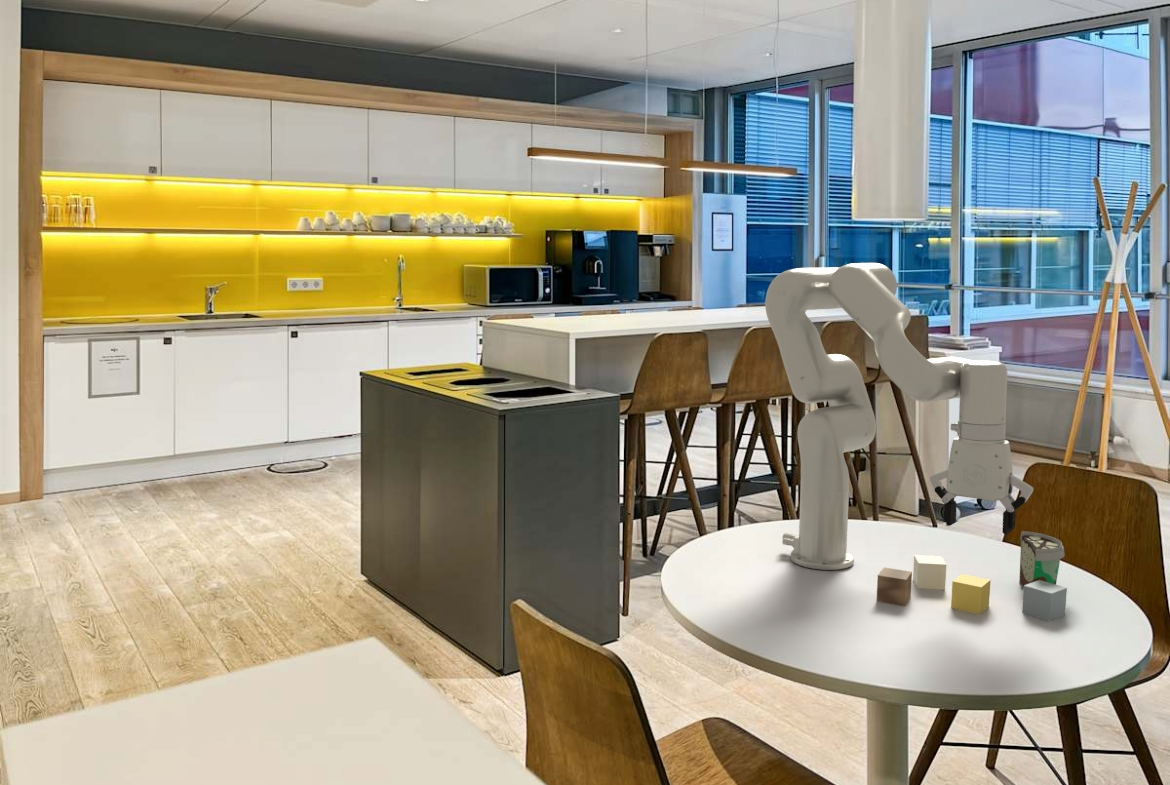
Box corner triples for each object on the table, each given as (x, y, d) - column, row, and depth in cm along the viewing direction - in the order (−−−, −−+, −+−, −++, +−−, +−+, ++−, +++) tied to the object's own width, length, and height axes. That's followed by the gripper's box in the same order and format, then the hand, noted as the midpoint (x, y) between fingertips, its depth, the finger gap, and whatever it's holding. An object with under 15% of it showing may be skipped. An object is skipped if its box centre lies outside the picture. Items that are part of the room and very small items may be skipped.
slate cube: (1022, 612, 173) (1023, 585, 172) (1037, 606, 176) (1039, 579, 175) (1049, 621, 169) (1051, 593, 168) (1064, 615, 172) (1066, 587, 171)
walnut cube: (876, 601, 178) (877, 575, 177) (882, 593, 182) (884, 567, 182) (904, 606, 176) (906, 579, 175) (910, 598, 180) (912, 571, 179)
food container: (1069, 605, 176) (1073, 551, 174) (1032, 603, 177) (1036, 549, 176) (1051, 583, 188) (1055, 532, 186) (1017, 580, 189) (1020, 530, 188)
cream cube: (917, 588, 185) (918, 563, 184) (912, 579, 190) (914, 554, 189) (945, 590, 184) (946, 564, 183) (939, 581, 189) (941, 556, 188)
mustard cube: (950, 608, 175) (952, 581, 174) (960, 600, 179) (962, 573, 178) (979, 614, 172) (981, 587, 171) (988, 606, 176) (990, 579, 175)
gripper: (924, 430, 173) (922, 525, 175) (1028, 440, 162) (1024, 541, 164) (939, 425, 179) (937, 517, 181) (1040, 433, 168) (1037, 531, 170)
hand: (978, 528), depth 173 cm, fingers open, 9 cm apart
